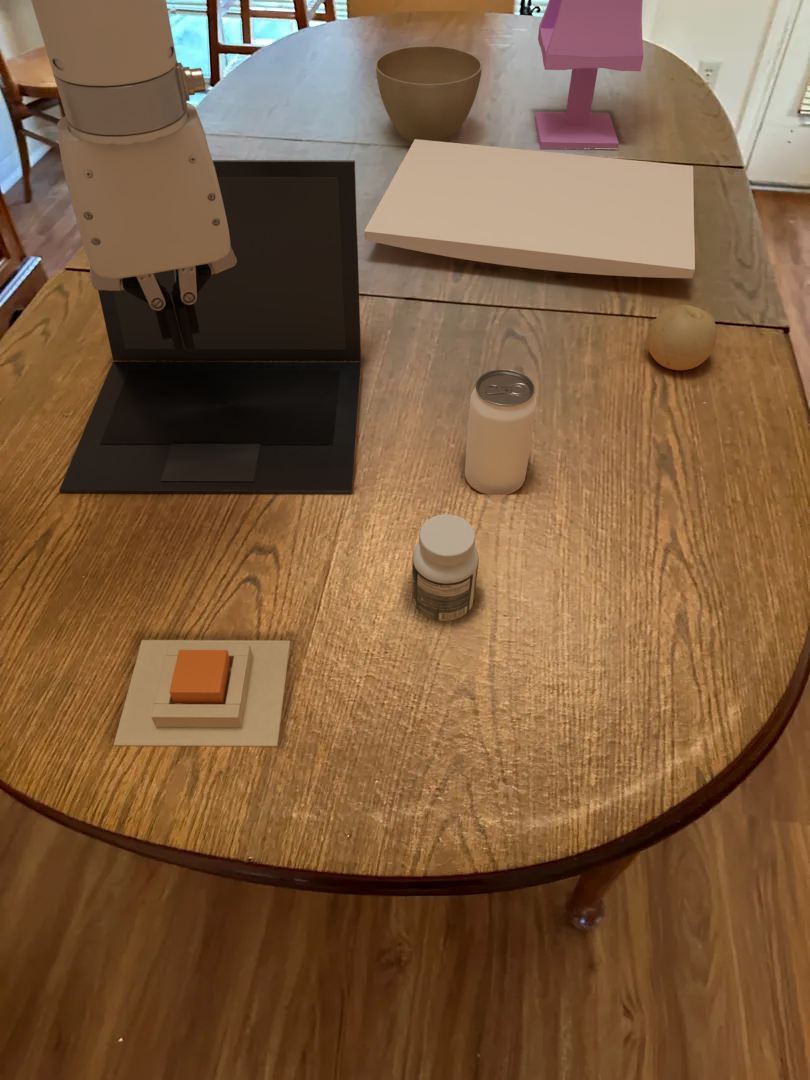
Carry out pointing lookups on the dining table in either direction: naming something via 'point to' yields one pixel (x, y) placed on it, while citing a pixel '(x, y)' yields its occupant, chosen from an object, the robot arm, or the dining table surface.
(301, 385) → the laptop
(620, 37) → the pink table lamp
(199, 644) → the stepped tan base
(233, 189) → the laptop screen
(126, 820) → the dining table surface
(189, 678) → the push button
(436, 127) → the flower pot
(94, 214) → the robot arm
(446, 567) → the pill bottle
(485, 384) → the can
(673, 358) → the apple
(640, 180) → the board
